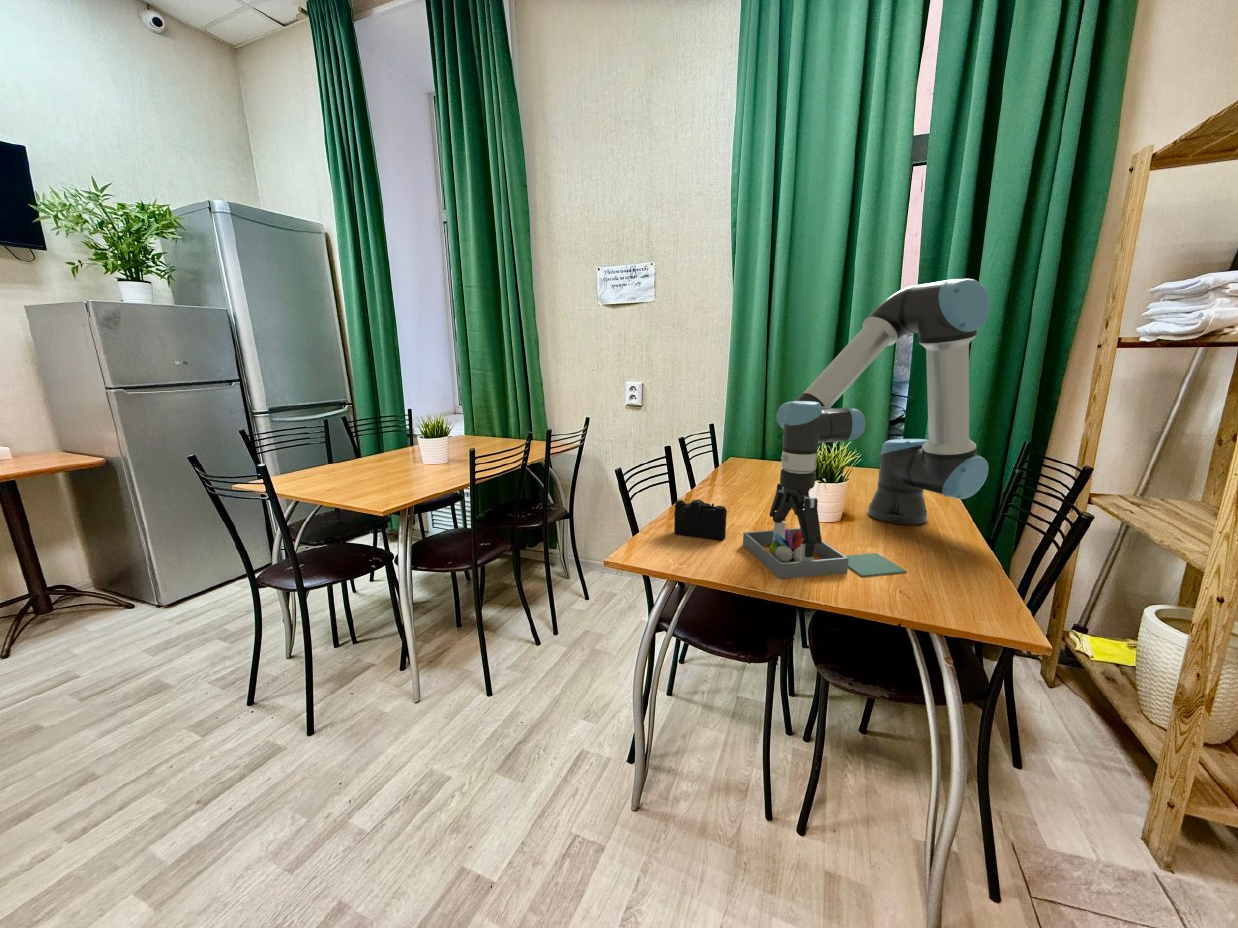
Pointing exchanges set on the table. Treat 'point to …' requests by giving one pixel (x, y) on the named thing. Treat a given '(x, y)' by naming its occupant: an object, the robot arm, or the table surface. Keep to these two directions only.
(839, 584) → the table surface
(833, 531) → the table surface
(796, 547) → the rainbow petal fan figurine
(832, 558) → the bin
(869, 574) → the mat
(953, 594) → the table surface
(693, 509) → the camera
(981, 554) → the table surface
